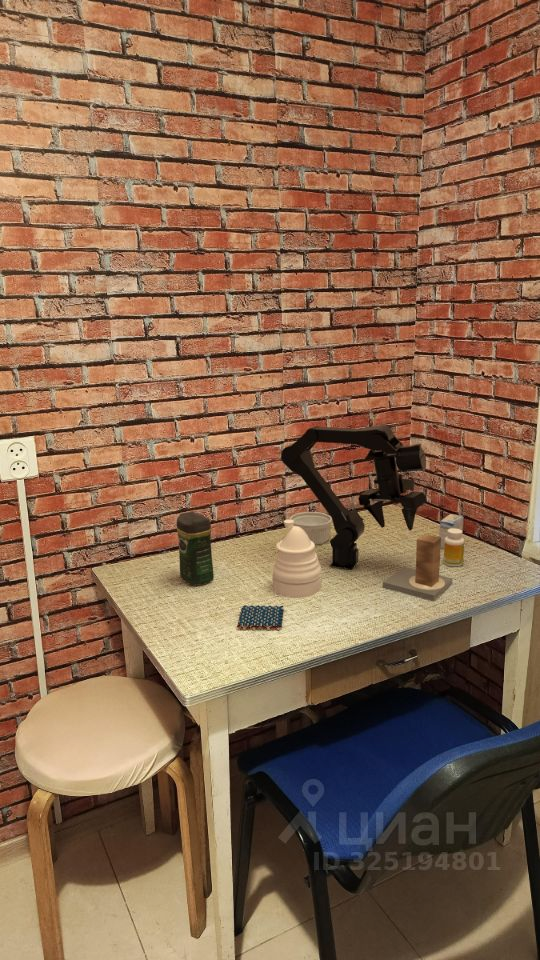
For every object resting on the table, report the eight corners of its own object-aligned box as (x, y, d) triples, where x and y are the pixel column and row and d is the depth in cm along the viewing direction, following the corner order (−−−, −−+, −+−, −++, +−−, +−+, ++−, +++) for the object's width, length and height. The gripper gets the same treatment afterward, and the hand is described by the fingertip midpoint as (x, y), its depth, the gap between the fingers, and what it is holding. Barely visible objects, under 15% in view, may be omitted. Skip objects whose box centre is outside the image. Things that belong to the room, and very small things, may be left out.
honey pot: (265, 593, 166) (263, 528, 161) (282, 573, 177) (280, 511, 172) (313, 600, 162) (313, 533, 157) (327, 579, 173) (327, 516, 168)
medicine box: (448, 540, 198) (449, 513, 196) (462, 542, 196) (463, 515, 193) (438, 548, 192) (439, 520, 190) (452, 551, 189) (454, 523, 187)
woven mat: (241, 611, 158) (240, 603, 158) (284, 611, 157) (284, 604, 157) (236, 632, 148) (235, 624, 148) (282, 633, 147) (281, 625, 147)
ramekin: (310, 528, 211) (310, 508, 209) (341, 538, 201) (341, 517, 200) (281, 539, 202) (280, 518, 200) (311, 550, 193) (311, 528, 191)
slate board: (382, 587, 168) (382, 581, 167) (403, 571, 177) (403, 565, 176) (433, 601, 159) (433, 594, 159) (452, 583, 169) (452, 577, 168)
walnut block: (415, 582, 166) (416, 539, 162) (422, 576, 169) (424, 533, 166) (431, 587, 163) (433, 542, 160) (438, 580, 166) (441, 537, 163)
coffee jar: (218, 581, 174) (215, 516, 169) (192, 589, 169) (188, 522, 164) (201, 569, 181) (197, 507, 176) (176, 576, 177) (171, 513, 172)
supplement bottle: (463, 567, 178) (465, 534, 175) (443, 566, 179) (445, 533, 176) (462, 559, 183) (464, 527, 180) (442, 558, 184) (444, 526, 182)
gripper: (434, 464, 168) (443, 520, 171) (377, 464, 182) (387, 515, 185) (408, 478, 161) (418, 536, 164) (352, 476, 175) (362, 529, 179)
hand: (396, 528), depth 173 cm, fingers open, 9 cm apart
